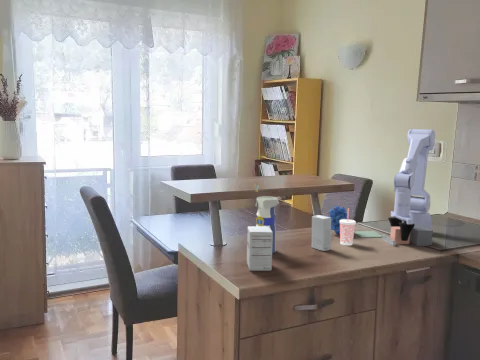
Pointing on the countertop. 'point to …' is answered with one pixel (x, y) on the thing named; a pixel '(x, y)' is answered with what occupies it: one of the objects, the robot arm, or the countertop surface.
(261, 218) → the spray bottle
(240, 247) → the countertop surface
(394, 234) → the salmon pink block
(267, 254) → the supplement box
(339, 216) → the grapes
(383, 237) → the bar
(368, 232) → the mat
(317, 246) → the skincare box
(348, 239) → the beverage cup
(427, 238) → the gray rectangular block
